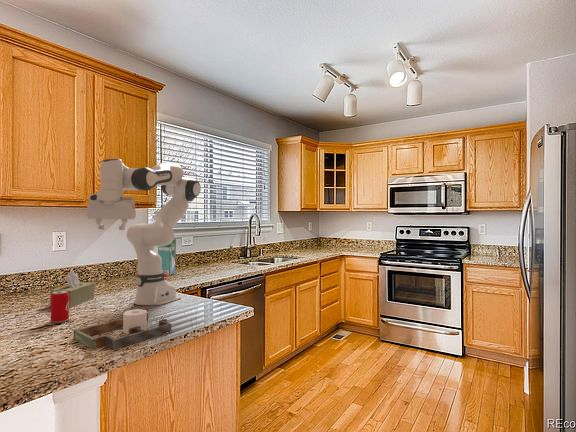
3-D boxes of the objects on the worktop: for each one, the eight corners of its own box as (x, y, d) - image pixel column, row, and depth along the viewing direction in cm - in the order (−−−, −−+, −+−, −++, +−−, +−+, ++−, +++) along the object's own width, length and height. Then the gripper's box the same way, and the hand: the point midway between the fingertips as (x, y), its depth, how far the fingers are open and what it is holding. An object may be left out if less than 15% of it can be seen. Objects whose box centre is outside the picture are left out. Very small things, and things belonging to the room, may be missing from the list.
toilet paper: (140, 323, 142) (140, 306, 142) (149, 331, 133) (149, 313, 133) (118, 327, 137) (118, 309, 137) (126, 335, 128) (126, 316, 128)
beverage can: (72, 319, 146) (72, 290, 146) (63, 323, 140) (63, 293, 140) (56, 318, 146) (57, 290, 146) (47, 323, 140) (47, 293, 139)
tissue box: (76, 297, 181) (76, 267, 181) (94, 298, 181) (94, 267, 181) (49, 307, 162) (49, 273, 162) (69, 308, 162) (70, 274, 162)
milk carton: (163, 272, 257) (164, 238, 256) (175, 273, 255) (175, 238, 255) (157, 274, 248) (158, 239, 247) (169, 275, 246) (170, 239, 246)
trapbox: (146, 319, 146) (146, 312, 146) (176, 330, 134) (176, 322, 134) (73, 338, 124) (73, 330, 124) (101, 353, 112) (101, 343, 112)
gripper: (138, 197, 149) (138, 229, 150) (94, 196, 152) (94, 228, 152) (130, 196, 143) (130, 230, 143) (84, 196, 146) (84, 229, 146)
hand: (111, 229), depth 148 cm, fingers open, 8 cm apart
